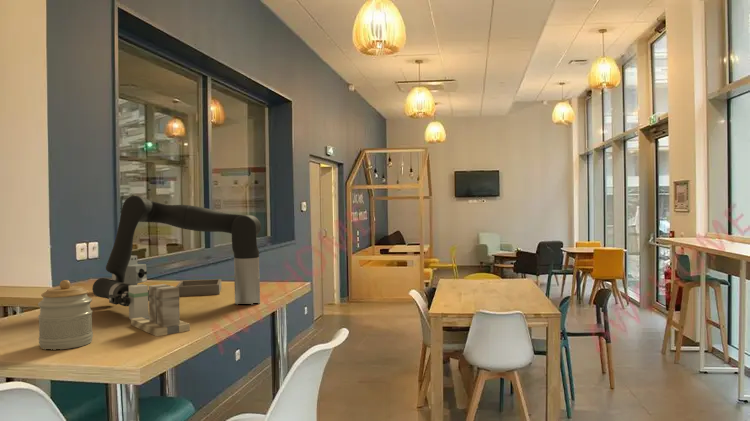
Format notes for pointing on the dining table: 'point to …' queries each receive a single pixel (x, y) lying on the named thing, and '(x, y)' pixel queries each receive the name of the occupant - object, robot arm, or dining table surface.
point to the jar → (65, 317)
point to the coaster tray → (199, 287)
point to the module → (138, 301)
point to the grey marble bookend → (162, 312)
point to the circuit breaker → (134, 272)
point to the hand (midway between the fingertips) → (140, 299)
